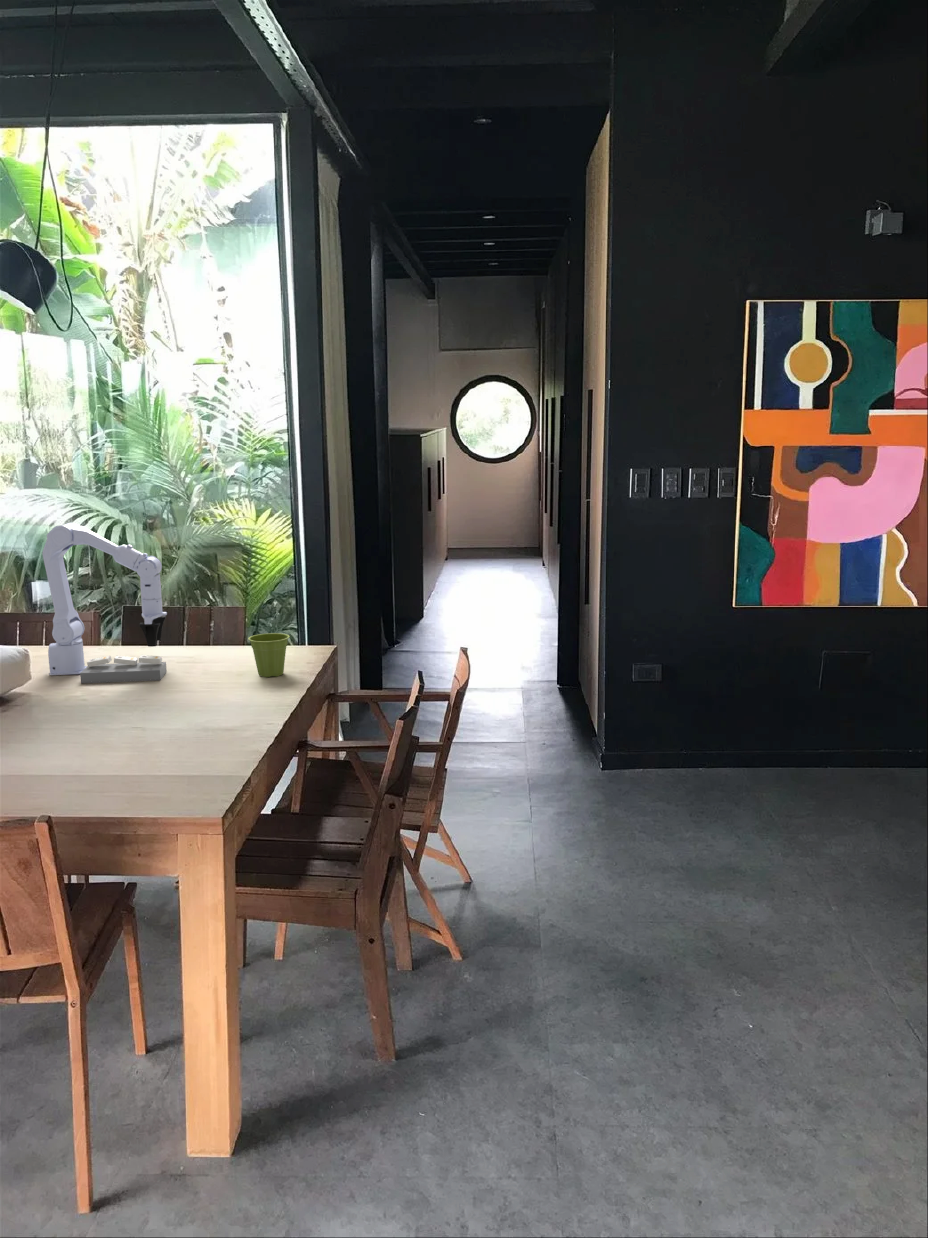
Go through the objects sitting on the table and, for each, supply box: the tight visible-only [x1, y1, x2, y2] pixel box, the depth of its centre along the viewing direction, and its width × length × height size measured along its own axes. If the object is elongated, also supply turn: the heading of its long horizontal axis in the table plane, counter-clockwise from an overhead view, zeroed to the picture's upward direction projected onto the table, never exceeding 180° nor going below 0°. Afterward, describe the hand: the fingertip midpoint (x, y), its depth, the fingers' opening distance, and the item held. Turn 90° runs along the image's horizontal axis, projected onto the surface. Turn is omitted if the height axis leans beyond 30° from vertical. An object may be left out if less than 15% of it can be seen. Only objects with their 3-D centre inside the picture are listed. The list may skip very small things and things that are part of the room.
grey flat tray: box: [79, 661, 168, 684], centre depth 282 cm, size 22×10×3 cm, turn 97°
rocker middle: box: [113, 655, 139, 665], centre depth 284 cm, size 6×4×2 cm, turn 98°
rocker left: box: [86, 655, 112, 667], centre depth 283 cm, size 6×4×2 cm, turn 97°
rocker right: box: [138, 654, 163, 664], centre depth 284 cm, size 6×4×2 cm, turn 97°
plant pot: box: [248, 632, 291, 678], centre depth 284 cm, size 12×12×11 cm
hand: (154, 643), depth 288 cm, fingers open, 7 cm apart
